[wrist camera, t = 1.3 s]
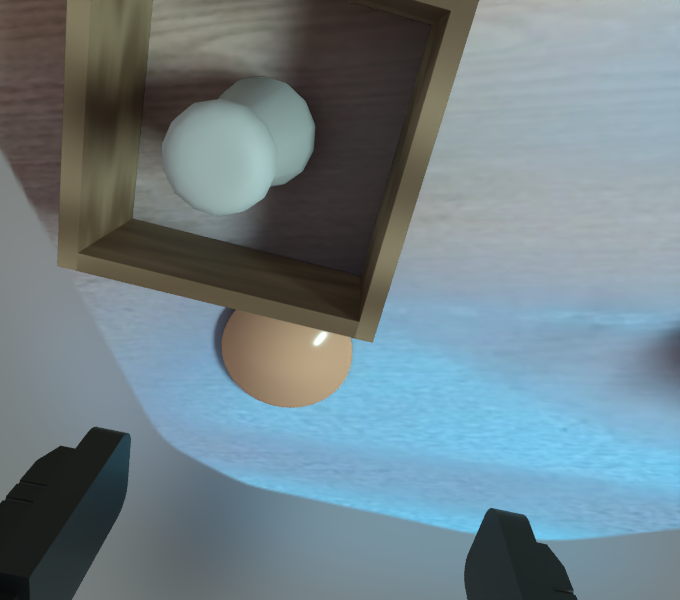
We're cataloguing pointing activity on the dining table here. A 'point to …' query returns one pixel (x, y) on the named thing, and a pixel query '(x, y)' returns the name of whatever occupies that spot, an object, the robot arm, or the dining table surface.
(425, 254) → the dining table surface
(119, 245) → the walnut box
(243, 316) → the tan round coaster
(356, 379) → the dining table surface
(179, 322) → the dining table surface
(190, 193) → the salt shaker
